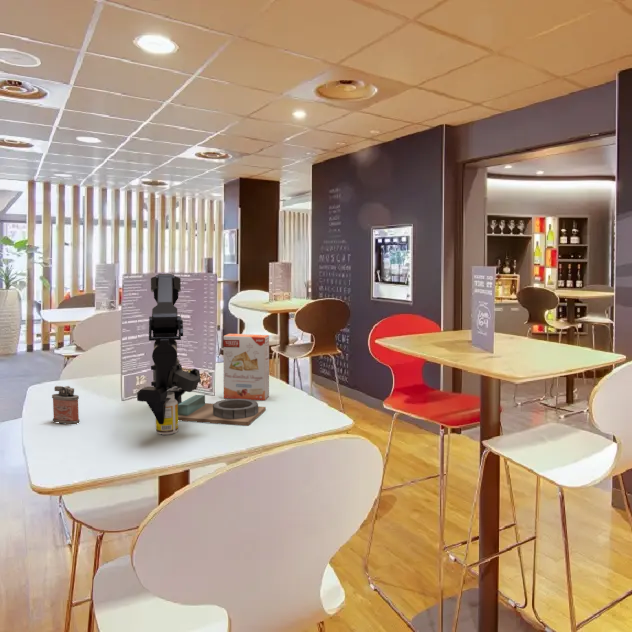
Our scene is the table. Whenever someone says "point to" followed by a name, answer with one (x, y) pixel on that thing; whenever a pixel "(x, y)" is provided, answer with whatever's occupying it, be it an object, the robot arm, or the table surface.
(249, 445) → the table surface
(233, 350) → the cracker box
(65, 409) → the lighter
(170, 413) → the supplement bottle
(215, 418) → the ring
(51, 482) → the table surface
